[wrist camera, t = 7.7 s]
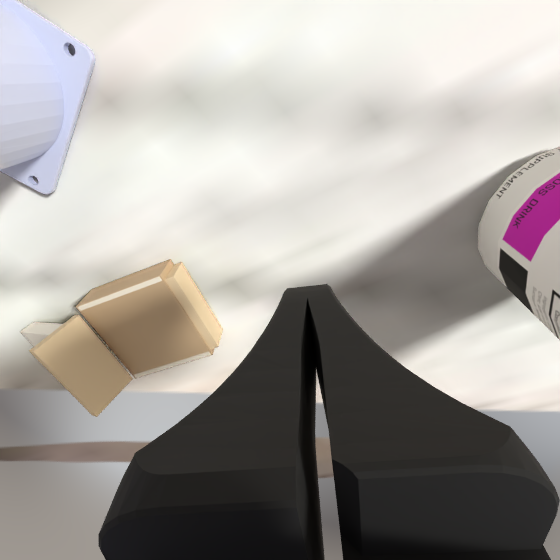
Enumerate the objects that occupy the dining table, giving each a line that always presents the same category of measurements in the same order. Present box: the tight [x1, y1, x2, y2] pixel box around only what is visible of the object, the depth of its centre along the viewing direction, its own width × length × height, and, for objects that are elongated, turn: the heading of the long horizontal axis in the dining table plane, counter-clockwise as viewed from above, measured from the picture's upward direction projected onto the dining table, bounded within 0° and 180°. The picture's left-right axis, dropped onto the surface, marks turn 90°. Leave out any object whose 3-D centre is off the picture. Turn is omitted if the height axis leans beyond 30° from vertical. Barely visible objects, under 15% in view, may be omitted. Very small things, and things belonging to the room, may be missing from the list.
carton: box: [76, 259, 223, 378], centre depth 23 cm, size 7×6×2 cm
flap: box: [20, 315, 132, 417], centre depth 23 cm, size 3×6×6 cm
